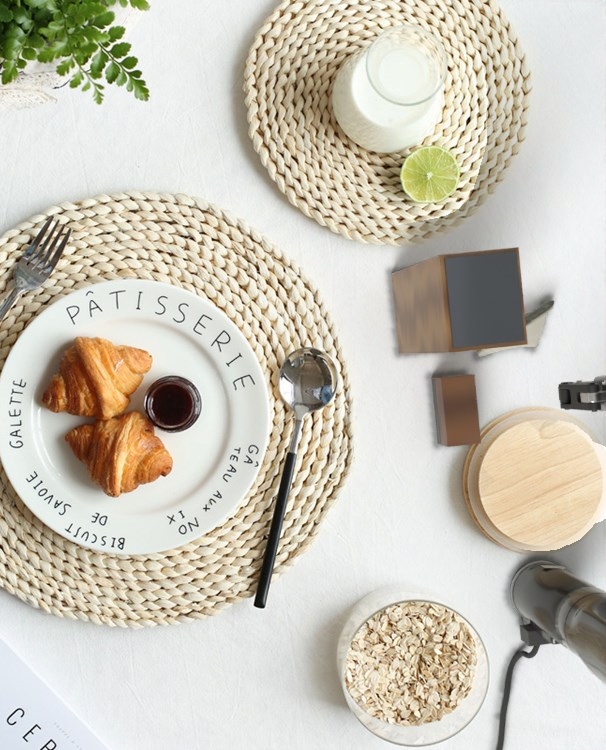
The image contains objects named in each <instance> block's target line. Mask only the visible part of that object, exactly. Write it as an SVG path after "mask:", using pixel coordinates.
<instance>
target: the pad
mask: <svg viewBox="0 0 606 750" xmlns="http://www.w3.org/2000/svg"><path fill="white" fill-rule="evenodd" d="M444 264H445V274H446V285H447V295H448V305H449V316H450V326H451V336H452V347H453V348H461V347H471V346H480V345H490V344H499V343H509V342H518V341H525V337H524V326H523V316H522V305H521V294H520V284H519V273H518V263H517V252H516V251H514V252H504V253H493V254H483V255H473V256H463V257H453V258H444Z"/></svg>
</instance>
